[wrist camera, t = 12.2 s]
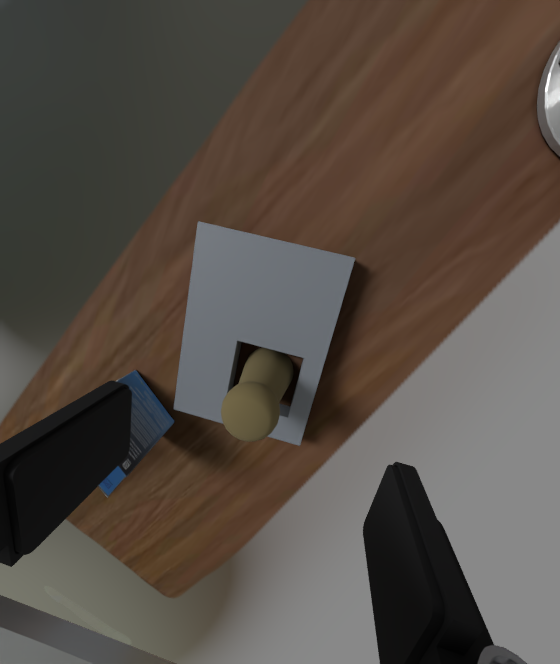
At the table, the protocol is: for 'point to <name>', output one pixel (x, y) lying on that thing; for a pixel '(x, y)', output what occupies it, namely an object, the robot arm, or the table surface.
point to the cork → (257, 395)
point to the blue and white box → (139, 429)
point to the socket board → (257, 317)
